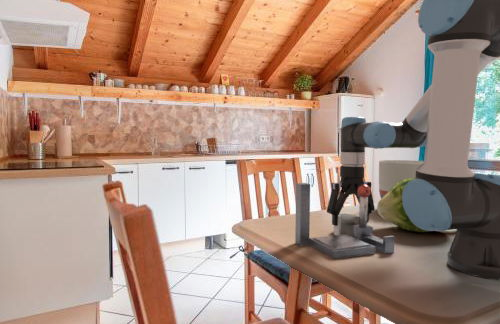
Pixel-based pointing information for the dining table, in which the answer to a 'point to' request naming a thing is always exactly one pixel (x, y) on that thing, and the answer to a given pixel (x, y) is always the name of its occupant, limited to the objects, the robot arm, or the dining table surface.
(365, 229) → the lever
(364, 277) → the dining table surface
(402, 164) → the planter
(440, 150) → the robot arm
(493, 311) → the dining table surface
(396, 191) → the lettuce
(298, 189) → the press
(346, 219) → the stone
